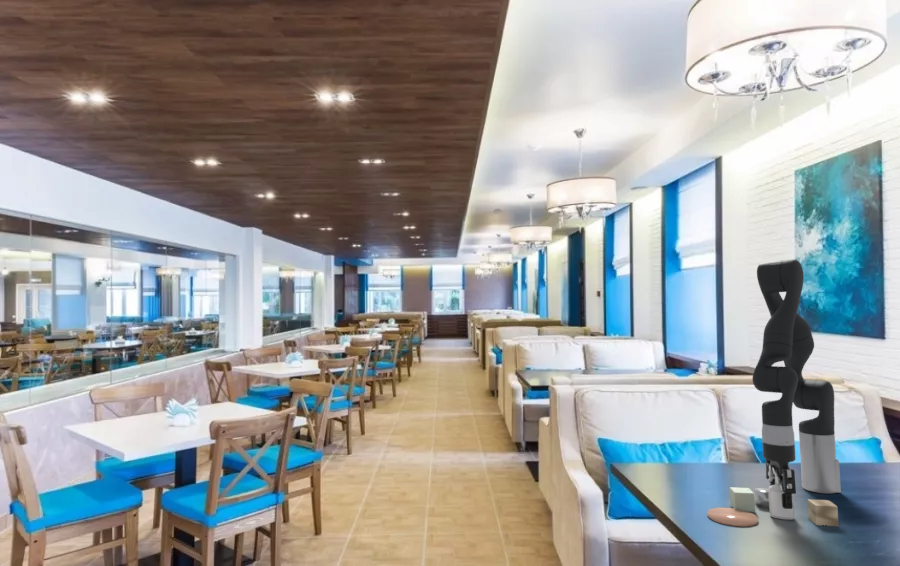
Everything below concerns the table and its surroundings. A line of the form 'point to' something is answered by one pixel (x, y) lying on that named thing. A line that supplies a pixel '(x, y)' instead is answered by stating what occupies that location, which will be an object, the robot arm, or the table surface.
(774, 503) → the eye dropper bottle
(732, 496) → the sage block
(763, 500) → the steel puck
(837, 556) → the table surface
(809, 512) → the oak block
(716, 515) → the salmon disc
